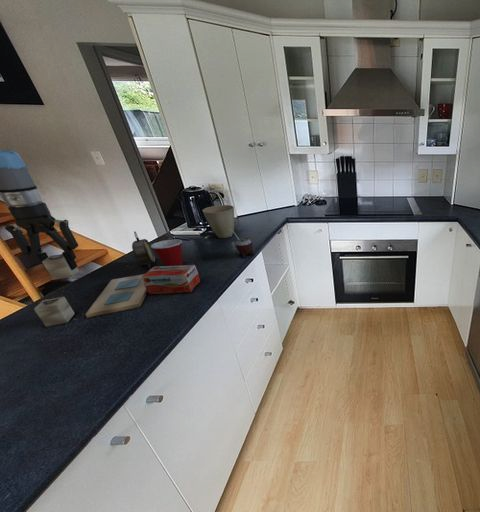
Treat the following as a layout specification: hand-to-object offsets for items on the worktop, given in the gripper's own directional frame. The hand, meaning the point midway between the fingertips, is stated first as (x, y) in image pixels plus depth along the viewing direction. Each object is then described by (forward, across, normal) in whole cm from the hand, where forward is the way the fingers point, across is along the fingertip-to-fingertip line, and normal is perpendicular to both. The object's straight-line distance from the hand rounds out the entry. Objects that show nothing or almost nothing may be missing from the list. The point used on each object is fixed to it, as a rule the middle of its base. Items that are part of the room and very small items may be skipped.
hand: (63, 269), depth 94 cm
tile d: (+12, 0, -14) cm, 18 cm away
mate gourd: (+11, +56, +13) cm, 59 cm away
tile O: (+2, 0, 0) cm, 2 cm away
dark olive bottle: (+12, +16, +20) cm, 28 cm away
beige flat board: (+12, +14, -4) cm, 19 cm away
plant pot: (+11, +46, +45) cm, 66 cm away
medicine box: (+12, +30, -7) cm, 33 cm away
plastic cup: (+12, +28, +13) cm, 33 cm away
